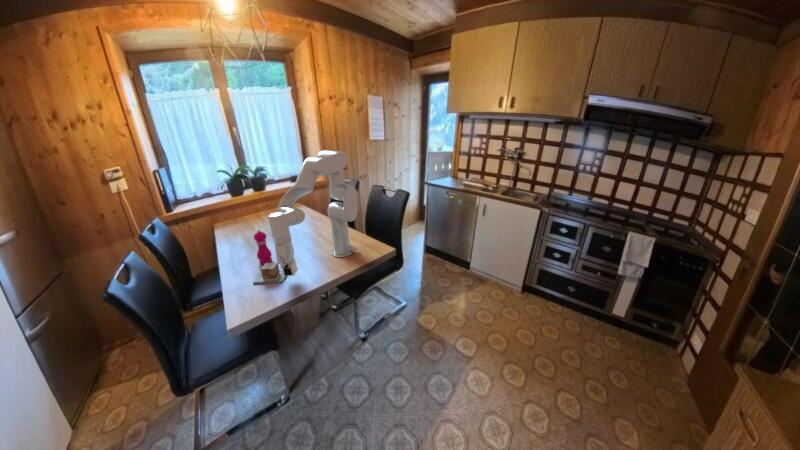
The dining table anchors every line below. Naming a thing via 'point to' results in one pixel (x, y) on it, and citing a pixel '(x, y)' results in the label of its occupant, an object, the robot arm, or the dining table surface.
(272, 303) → the dining table surface
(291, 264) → the cream block
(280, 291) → the dining table surface
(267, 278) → the walnut block
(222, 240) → the dining table surface
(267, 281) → the pad
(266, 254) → the pepper mill
